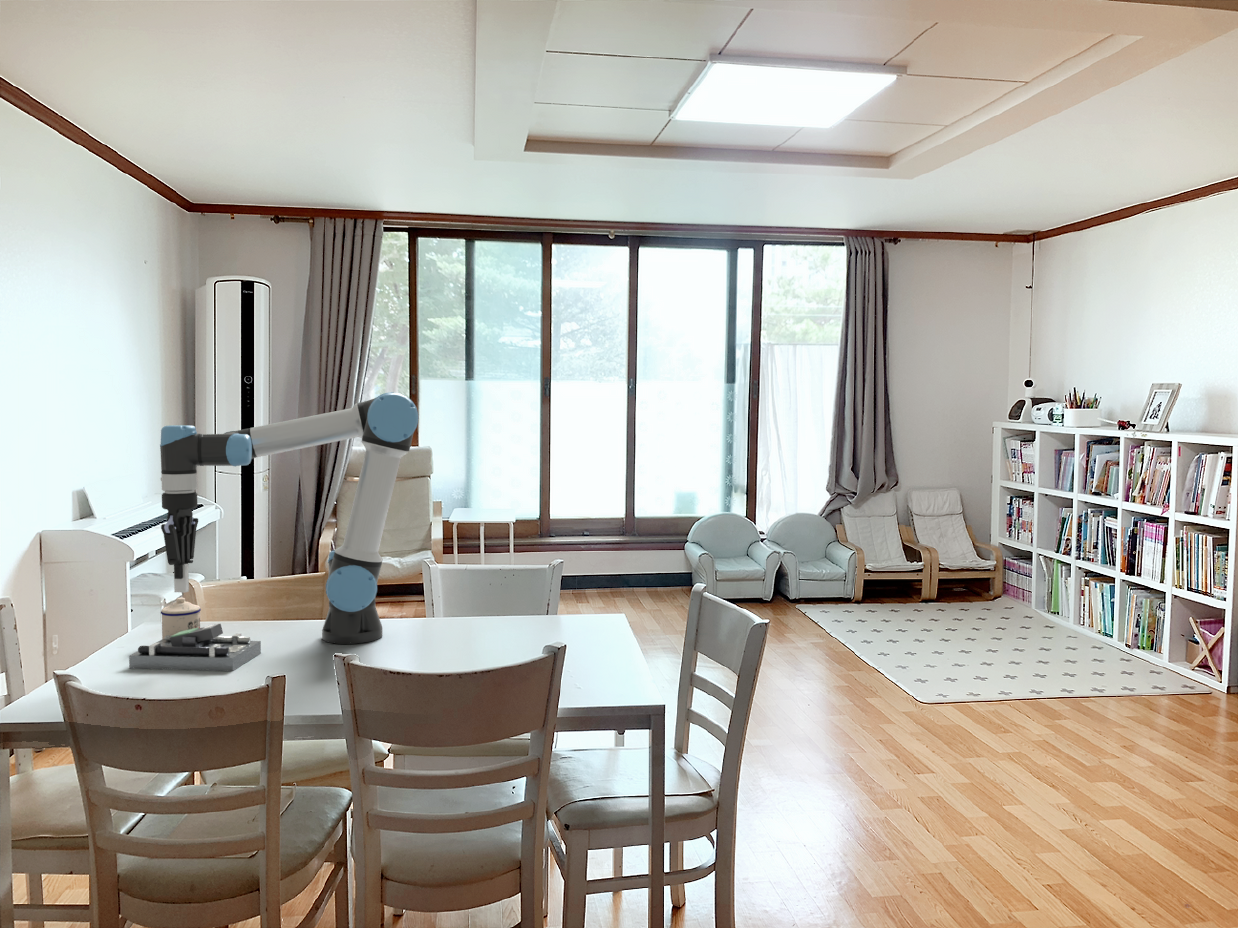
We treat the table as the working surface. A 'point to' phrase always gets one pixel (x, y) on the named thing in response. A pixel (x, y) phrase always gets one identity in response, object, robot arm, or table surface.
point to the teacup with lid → (180, 617)
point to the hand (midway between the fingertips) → (181, 591)
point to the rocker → (197, 634)
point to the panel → (196, 659)
